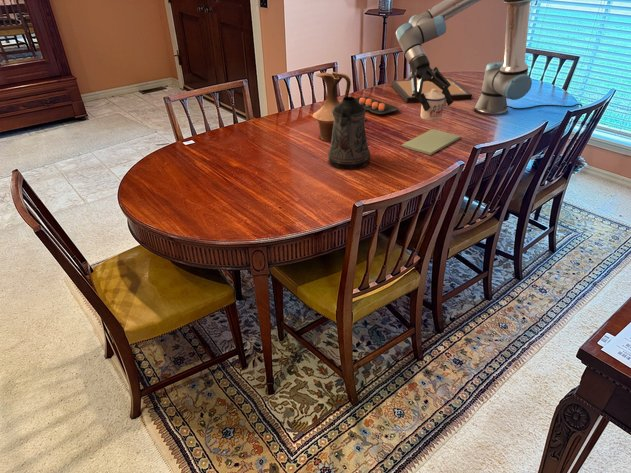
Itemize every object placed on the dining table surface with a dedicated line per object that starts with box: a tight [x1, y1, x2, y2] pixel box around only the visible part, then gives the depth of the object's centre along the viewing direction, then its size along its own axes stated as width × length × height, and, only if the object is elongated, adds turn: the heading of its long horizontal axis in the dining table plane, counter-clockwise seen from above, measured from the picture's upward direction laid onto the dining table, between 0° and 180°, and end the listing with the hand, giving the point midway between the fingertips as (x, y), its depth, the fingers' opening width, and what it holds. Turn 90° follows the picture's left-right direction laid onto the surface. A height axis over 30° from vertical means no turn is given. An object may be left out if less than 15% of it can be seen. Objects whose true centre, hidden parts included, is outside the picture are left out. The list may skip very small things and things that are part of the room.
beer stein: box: [327, 96, 371, 171], centre depth 164 cm, size 16×19×25 cm
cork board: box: [391, 77, 473, 104], centre depth 247 cm, size 36×3×35 cm
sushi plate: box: [354, 96, 400, 122], centre depth 222 cm, size 29×30×4 cm
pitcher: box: [312, 71, 352, 142], centre depth 186 cm, size 18×17×28 cm
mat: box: [401, 128, 461, 156], centre depth 185 cm, size 24×14×1 cm, turn 136°
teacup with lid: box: [420, 89, 447, 122], centre depth 177 cm, size 12×9×12 cm
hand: (439, 106), depth 176 cm, fingers closed on teacup with lid, 12 cm apart
